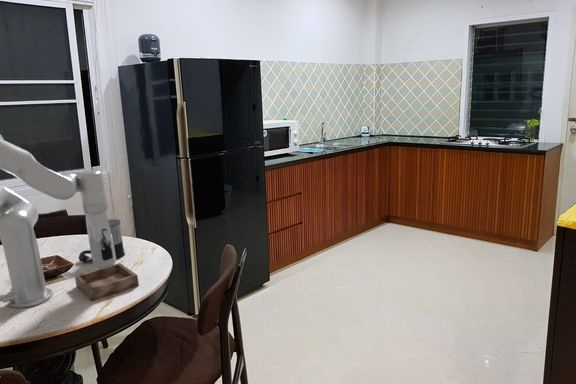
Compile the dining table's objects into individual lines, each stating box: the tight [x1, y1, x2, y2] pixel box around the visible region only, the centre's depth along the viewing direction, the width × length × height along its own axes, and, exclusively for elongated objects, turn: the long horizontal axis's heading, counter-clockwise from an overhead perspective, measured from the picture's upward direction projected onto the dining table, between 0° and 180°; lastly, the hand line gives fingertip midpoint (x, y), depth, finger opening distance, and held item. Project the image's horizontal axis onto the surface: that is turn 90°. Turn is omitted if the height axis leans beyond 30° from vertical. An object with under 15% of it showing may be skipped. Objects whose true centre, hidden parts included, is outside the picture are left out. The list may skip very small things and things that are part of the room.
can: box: [88, 234, 117, 269], centre depth 152 cm, size 8×8×12 cm
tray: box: [74, 262, 140, 302], centre depth 155 cm, size 16×16×4 cm
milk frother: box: [78, 218, 126, 264], centre depth 180 cm, size 14×16×15 cm
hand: (103, 256), depth 153 cm, fingers closed on can, 7 cm apart
